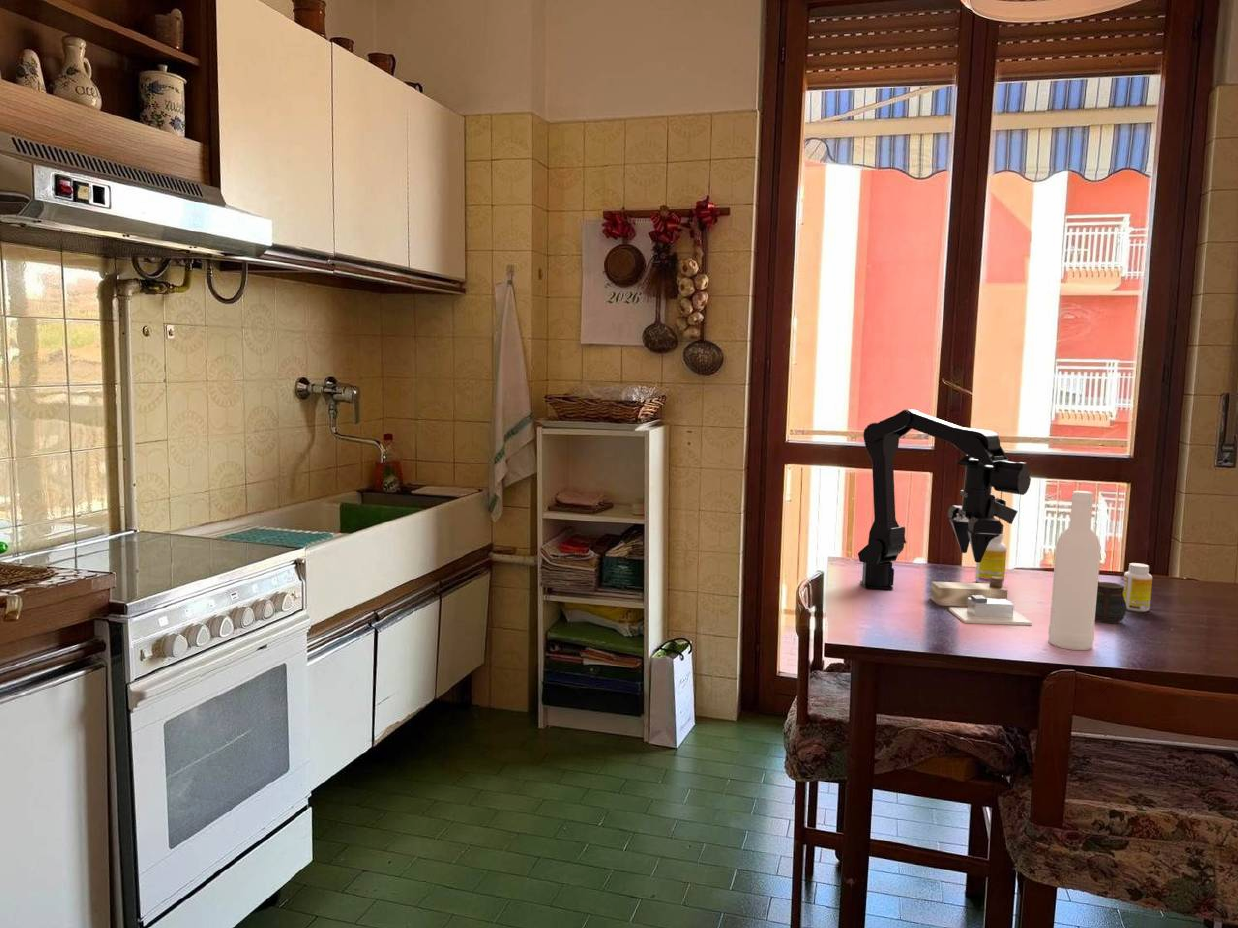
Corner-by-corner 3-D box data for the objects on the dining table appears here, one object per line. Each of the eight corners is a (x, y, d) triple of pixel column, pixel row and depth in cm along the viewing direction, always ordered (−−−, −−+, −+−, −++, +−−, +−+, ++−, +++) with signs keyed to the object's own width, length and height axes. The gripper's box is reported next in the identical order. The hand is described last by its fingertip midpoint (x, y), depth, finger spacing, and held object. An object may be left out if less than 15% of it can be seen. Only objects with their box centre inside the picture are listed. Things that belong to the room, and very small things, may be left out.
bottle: (1102, 650, 177) (1116, 494, 173) (1066, 651, 175) (1079, 494, 172) (1073, 637, 184) (1086, 489, 181) (1038, 639, 183) (1051, 489, 179)
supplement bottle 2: (1155, 611, 207) (1159, 566, 206) (1136, 613, 205) (1140, 568, 204) (1133, 605, 212) (1137, 561, 211) (1115, 606, 210) (1119, 562, 209)
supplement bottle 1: (1008, 586, 227) (1011, 535, 225) (980, 586, 227) (984, 534, 226) (997, 580, 233) (1001, 530, 232) (971, 579, 234) (974, 529, 232)
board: (964, 622, 193) (964, 619, 193) (948, 610, 203) (949, 607, 203) (1032, 625, 193) (1032, 622, 193) (1013, 612, 203) (1013, 609, 202)
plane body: (938, 605, 207) (940, 579, 206) (930, 598, 213) (932, 572, 212) (1006, 607, 207) (1008, 581, 206) (996, 600, 212) (998, 575, 212)
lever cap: (974, 616, 196) (975, 599, 195) (967, 611, 200) (968, 594, 200) (1012, 618, 195) (1014, 600, 195) (1004, 612, 200) (1005, 595, 200)
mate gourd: (1125, 627, 193) (1128, 580, 192) (1084, 621, 197) (1087, 576, 196) (1126, 619, 199) (1130, 574, 198) (1087, 614, 203) (1090, 569, 202)
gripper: (1031, 496, 193) (1023, 569, 195) (999, 483, 211) (992, 550, 213) (977, 493, 193) (970, 566, 195) (950, 480, 212) (943, 547, 214)
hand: (970, 557), depth 204 cm, fingers open, 9 cm apart
